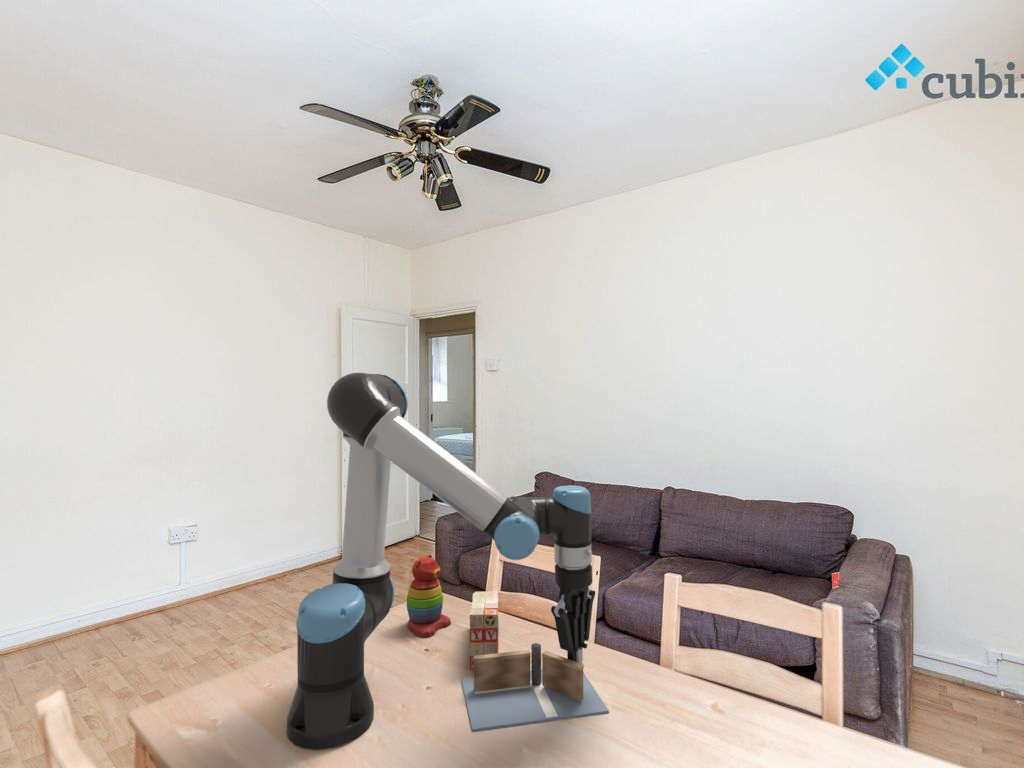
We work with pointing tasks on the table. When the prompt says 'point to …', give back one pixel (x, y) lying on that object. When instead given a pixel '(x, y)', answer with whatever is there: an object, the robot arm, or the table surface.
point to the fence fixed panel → (507, 669)
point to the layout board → (526, 705)
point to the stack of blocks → (484, 624)
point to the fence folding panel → (562, 675)
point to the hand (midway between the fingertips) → (575, 679)
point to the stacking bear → (425, 599)
